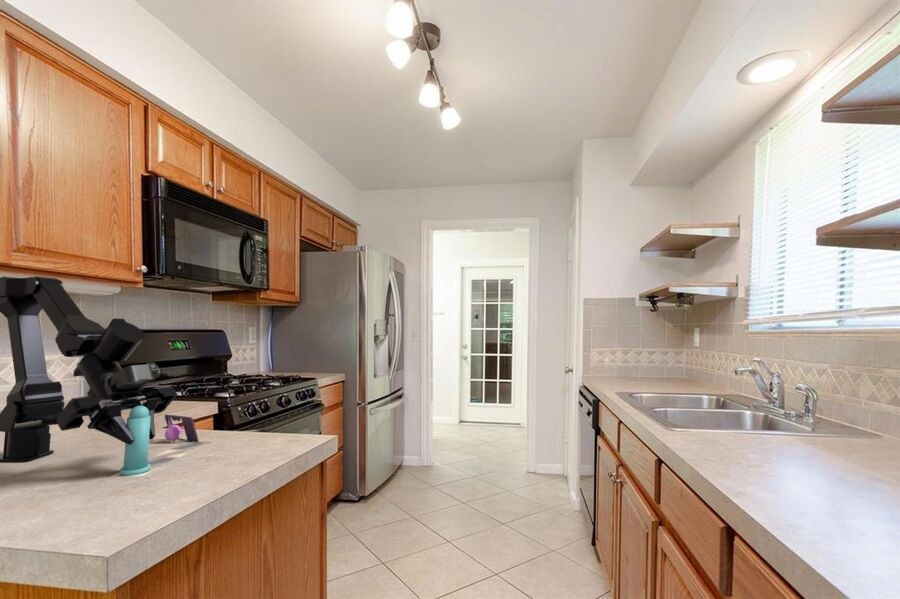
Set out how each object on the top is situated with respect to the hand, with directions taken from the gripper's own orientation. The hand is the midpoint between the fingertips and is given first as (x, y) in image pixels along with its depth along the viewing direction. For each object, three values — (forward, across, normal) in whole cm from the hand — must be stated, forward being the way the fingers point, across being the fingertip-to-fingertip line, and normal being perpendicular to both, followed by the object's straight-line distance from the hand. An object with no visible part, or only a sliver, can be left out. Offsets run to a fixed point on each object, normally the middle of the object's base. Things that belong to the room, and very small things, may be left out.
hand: (142, 440), depth 79 cm
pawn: (+3, 0, +5) cm, 6 cm away
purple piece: (-6, +20, +16) cm, 26 cm away
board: (+1, +8, +9) cm, 12 cm away
